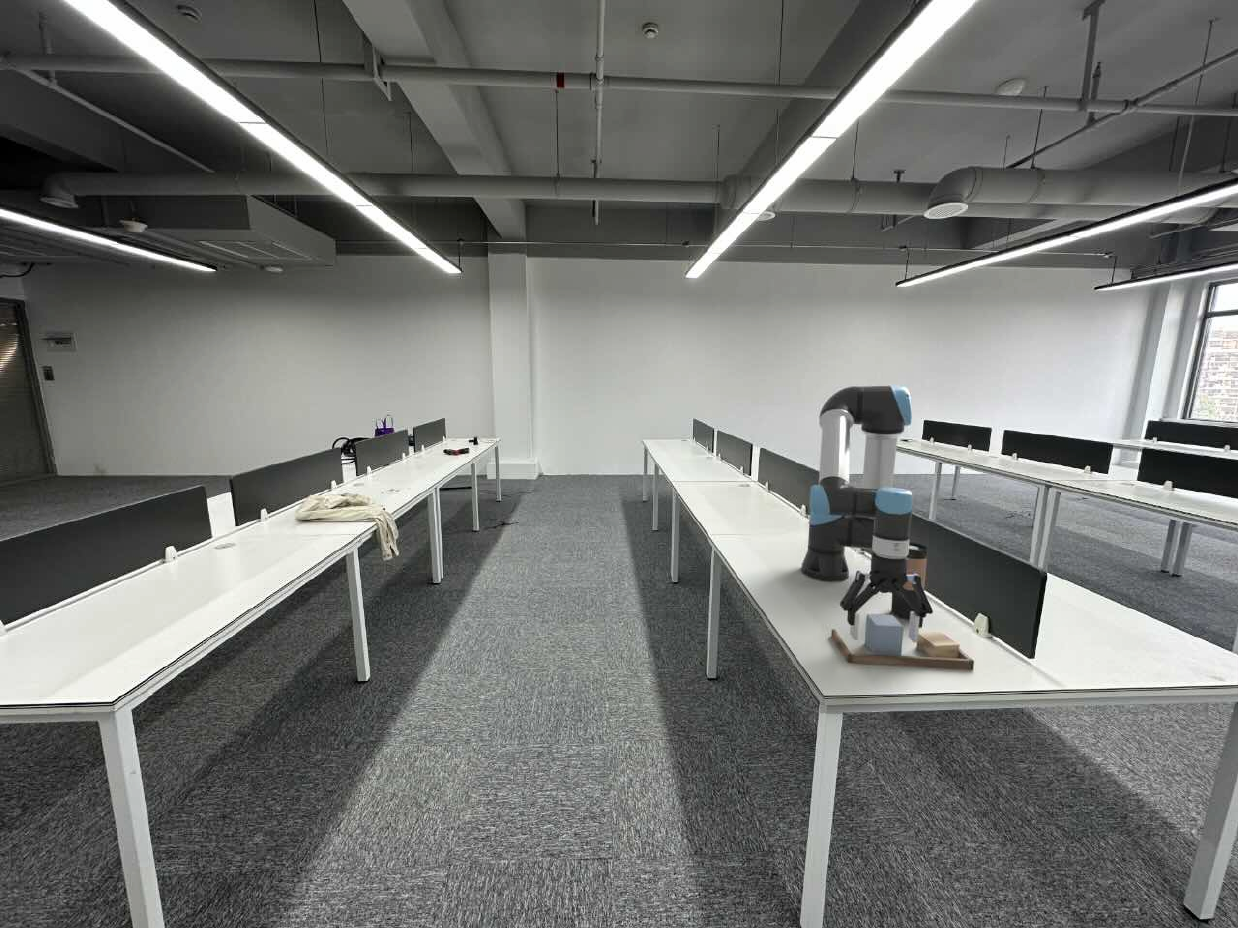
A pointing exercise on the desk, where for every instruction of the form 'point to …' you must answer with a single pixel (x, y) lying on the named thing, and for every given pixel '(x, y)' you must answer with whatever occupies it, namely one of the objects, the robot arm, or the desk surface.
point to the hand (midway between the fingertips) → (883, 638)
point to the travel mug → (918, 566)
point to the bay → (903, 658)
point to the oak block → (937, 645)
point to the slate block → (883, 635)
